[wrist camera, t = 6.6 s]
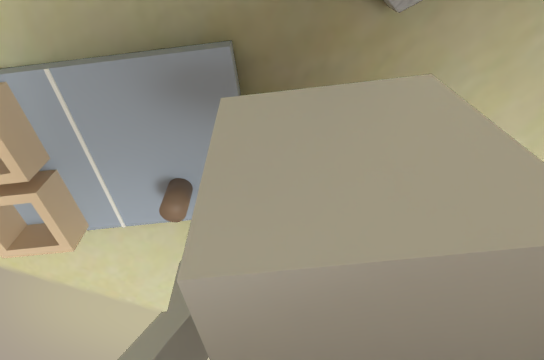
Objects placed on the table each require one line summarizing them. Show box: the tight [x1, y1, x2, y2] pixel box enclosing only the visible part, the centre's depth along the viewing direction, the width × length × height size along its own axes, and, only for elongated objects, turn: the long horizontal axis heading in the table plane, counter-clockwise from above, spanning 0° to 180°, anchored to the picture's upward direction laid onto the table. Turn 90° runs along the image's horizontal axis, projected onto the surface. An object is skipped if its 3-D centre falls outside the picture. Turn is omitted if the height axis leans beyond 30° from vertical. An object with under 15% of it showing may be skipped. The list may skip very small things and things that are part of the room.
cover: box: [177, 74, 544, 360], centre depth 9 cm, size 6×8×6 cm
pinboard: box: [0, 41, 241, 258], centre depth 26 cm, size 24×14×4 cm, turn 96°
